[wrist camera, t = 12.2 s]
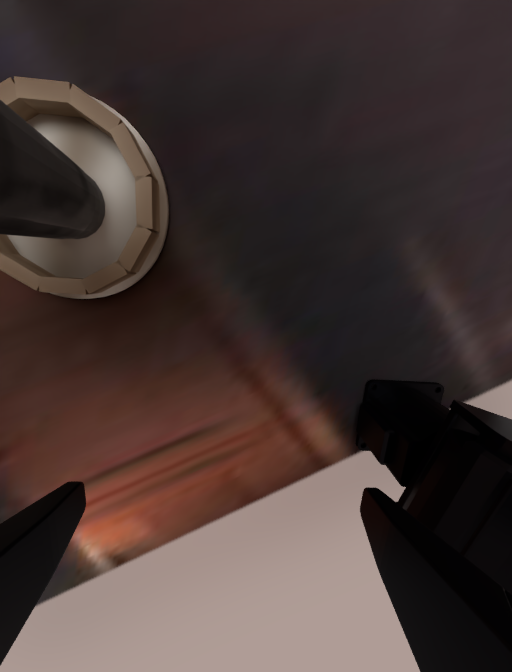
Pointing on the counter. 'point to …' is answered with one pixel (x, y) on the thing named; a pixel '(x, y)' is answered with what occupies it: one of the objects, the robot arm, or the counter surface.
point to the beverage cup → (43, 186)
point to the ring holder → (112, 179)
